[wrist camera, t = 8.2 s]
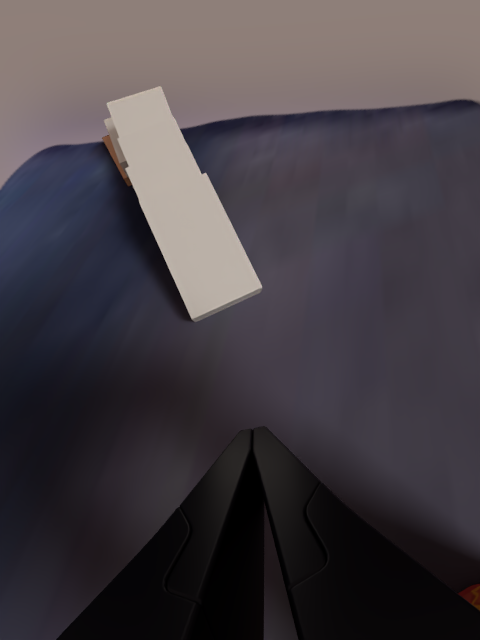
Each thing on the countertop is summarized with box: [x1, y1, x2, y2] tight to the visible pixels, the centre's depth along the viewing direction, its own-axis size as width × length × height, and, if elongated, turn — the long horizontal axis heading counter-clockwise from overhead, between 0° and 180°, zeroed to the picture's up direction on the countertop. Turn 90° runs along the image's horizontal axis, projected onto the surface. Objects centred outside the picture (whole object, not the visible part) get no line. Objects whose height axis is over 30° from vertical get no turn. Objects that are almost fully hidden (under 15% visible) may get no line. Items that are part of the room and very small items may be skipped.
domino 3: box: [117, 118, 186, 167], centre depth 25 cm, size 2×6×10 cm
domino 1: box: [139, 173, 262, 322], centre depth 21 cm, size 2×6×10 cm
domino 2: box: [125, 144, 202, 201], centre depth 23 cm, size 2×6×10 cm
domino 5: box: [104, 117, 129, 178], centre depth 31 cm, size 2×6×10 cm
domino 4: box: [106, 86, 173, 138], centre depth 27 cm, size 2×6×10 cm
